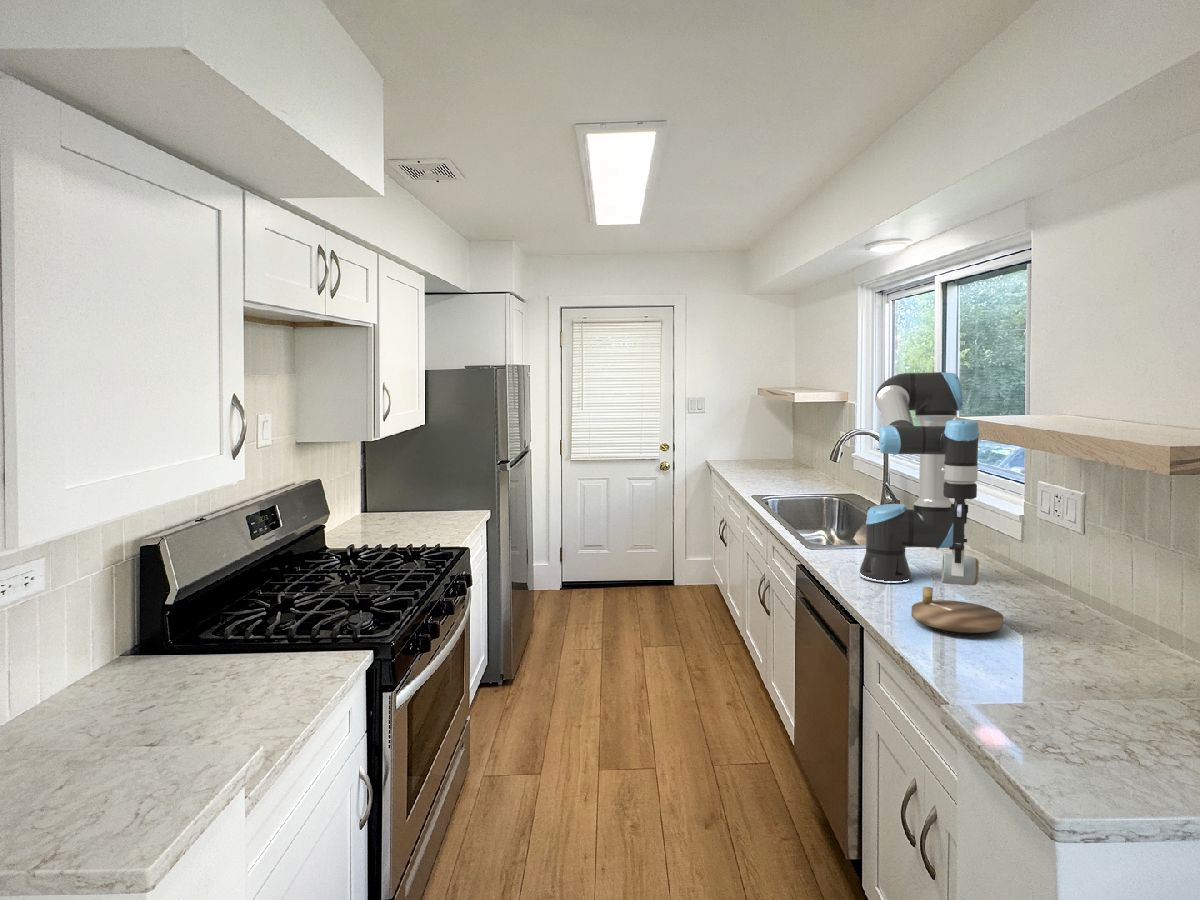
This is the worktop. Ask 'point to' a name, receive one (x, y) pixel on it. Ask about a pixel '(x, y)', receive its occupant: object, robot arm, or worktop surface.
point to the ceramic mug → (969, 571)
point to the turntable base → (956, 631)
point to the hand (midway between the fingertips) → (957, 571)
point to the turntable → (955, 615)
